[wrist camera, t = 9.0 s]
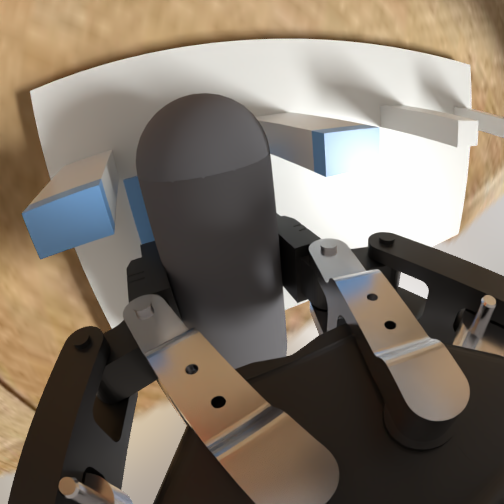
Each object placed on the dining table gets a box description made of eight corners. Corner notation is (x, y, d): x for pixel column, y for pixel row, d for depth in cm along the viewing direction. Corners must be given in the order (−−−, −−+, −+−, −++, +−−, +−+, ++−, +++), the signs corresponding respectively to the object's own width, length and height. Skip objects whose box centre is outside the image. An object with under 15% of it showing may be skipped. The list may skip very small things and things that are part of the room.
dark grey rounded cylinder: (125, 109, 9) (118, 111, 6) (237, 86, 10) (287, 82, 7) (197, 357, 15) (218, 420, 12) (269, 333, 16) (303, 388, 13)
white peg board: (457, 63, 16) (535, 76, 10) (448, 228, 23) (508, 264, 17) (38, 91, 9) (-38, 86, 4) (128, 347, 16) (145, 450, 11)
